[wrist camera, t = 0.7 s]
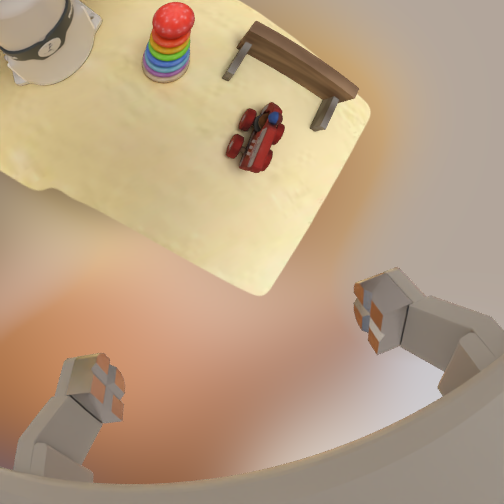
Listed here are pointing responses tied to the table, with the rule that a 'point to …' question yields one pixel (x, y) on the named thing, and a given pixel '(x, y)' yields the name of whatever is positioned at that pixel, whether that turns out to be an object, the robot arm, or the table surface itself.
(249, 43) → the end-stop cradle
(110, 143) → the table surface
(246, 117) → the toy fire truck
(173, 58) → the stacking toy
